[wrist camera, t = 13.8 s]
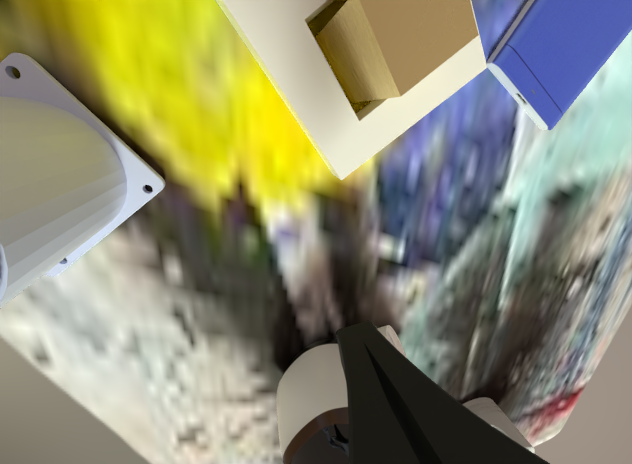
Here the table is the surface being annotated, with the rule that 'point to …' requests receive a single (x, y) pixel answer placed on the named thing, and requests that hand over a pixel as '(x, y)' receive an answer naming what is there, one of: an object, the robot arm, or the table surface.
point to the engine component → (497, 419)
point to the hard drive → (557, 52)
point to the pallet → (323, 88)
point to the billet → (393, 43)
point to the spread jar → (317, 404)
